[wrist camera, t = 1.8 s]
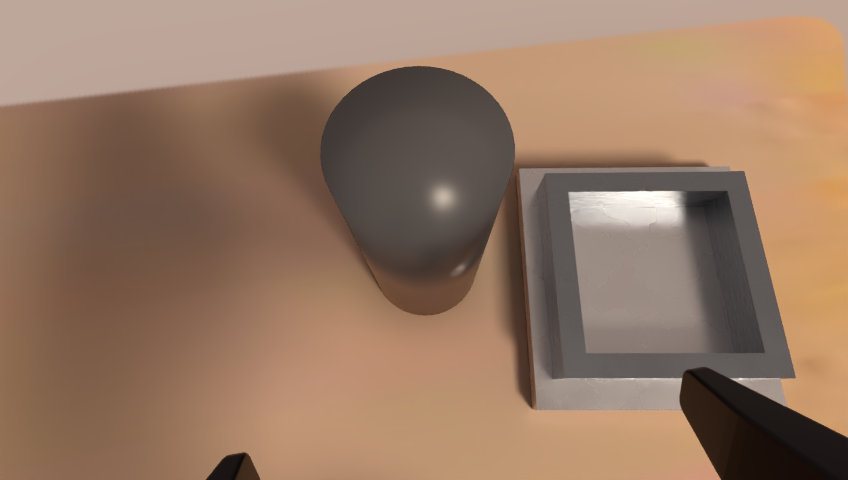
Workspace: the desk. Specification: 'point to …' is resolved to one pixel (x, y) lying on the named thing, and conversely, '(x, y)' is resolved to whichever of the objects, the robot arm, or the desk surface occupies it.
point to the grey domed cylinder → (419, 180)
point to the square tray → (644, 286)
